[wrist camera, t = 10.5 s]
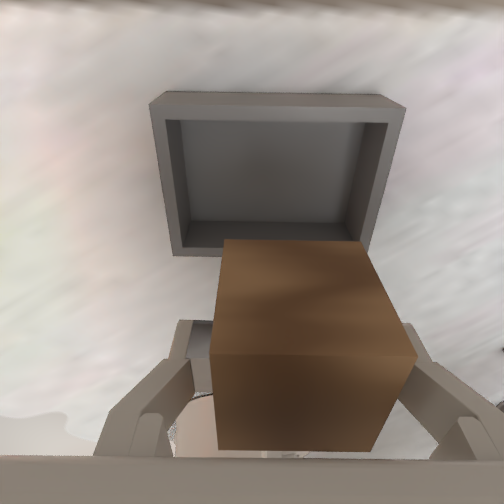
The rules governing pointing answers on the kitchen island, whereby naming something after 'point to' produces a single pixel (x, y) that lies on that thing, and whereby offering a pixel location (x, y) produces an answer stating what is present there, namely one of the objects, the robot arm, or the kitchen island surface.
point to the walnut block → (304, 348)
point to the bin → (272, 166)
